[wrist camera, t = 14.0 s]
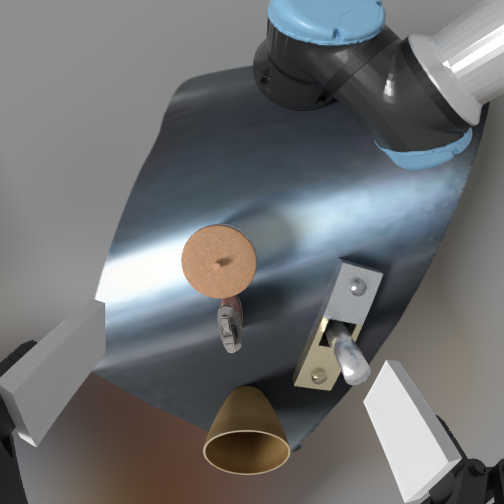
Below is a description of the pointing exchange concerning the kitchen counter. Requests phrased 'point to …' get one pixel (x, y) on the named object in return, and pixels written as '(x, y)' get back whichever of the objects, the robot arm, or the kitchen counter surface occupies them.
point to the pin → (347, 353)
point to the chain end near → (349, 293)
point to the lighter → (230, 323)
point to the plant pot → (246, 435)
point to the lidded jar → (219, 261)
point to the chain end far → (319, 360)
